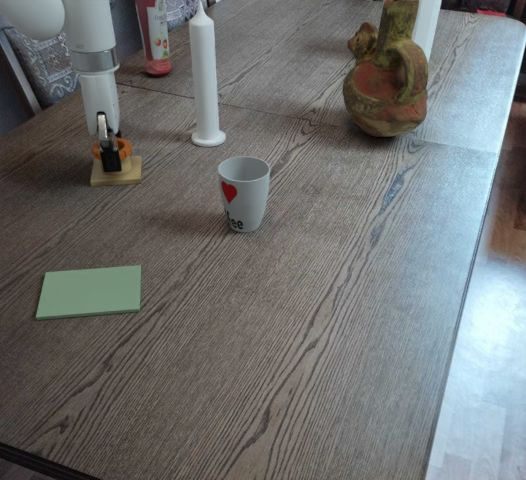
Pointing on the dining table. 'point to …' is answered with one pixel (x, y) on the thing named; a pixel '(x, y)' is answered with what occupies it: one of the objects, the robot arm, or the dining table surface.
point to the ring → (121, 142)
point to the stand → (127, 176)
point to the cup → (244, 191)
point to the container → (425, 24)
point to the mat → (90, 292)
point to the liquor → (154, 36)
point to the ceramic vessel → (387, 73)
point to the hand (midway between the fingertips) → (114, 160)
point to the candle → (204, 80)
